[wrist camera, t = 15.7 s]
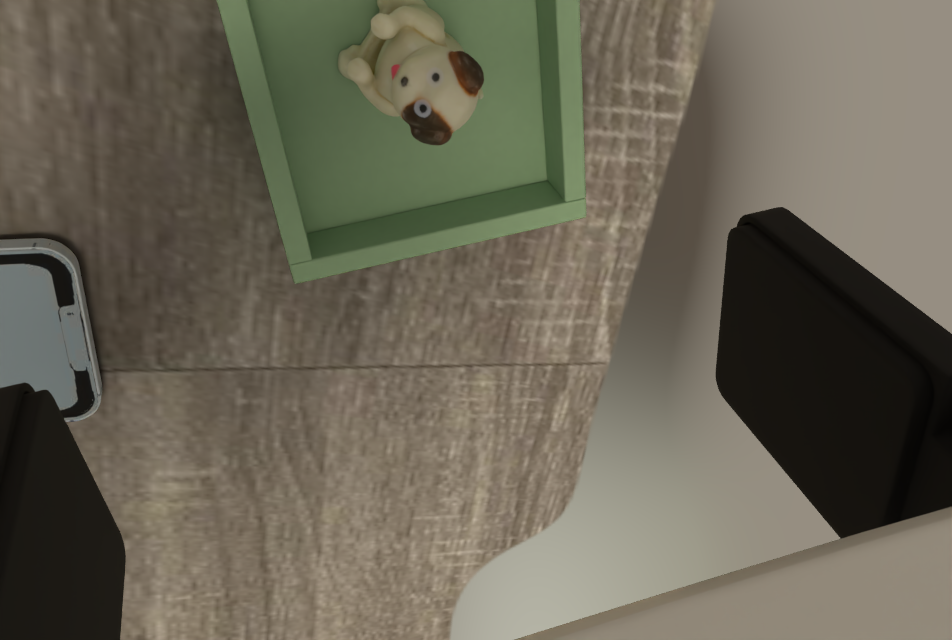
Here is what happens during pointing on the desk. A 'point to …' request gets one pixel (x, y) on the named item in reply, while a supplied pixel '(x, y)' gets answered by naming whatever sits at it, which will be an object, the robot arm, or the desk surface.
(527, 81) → the tray
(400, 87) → the toy dog
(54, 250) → the smartphone
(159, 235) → the desk surface
